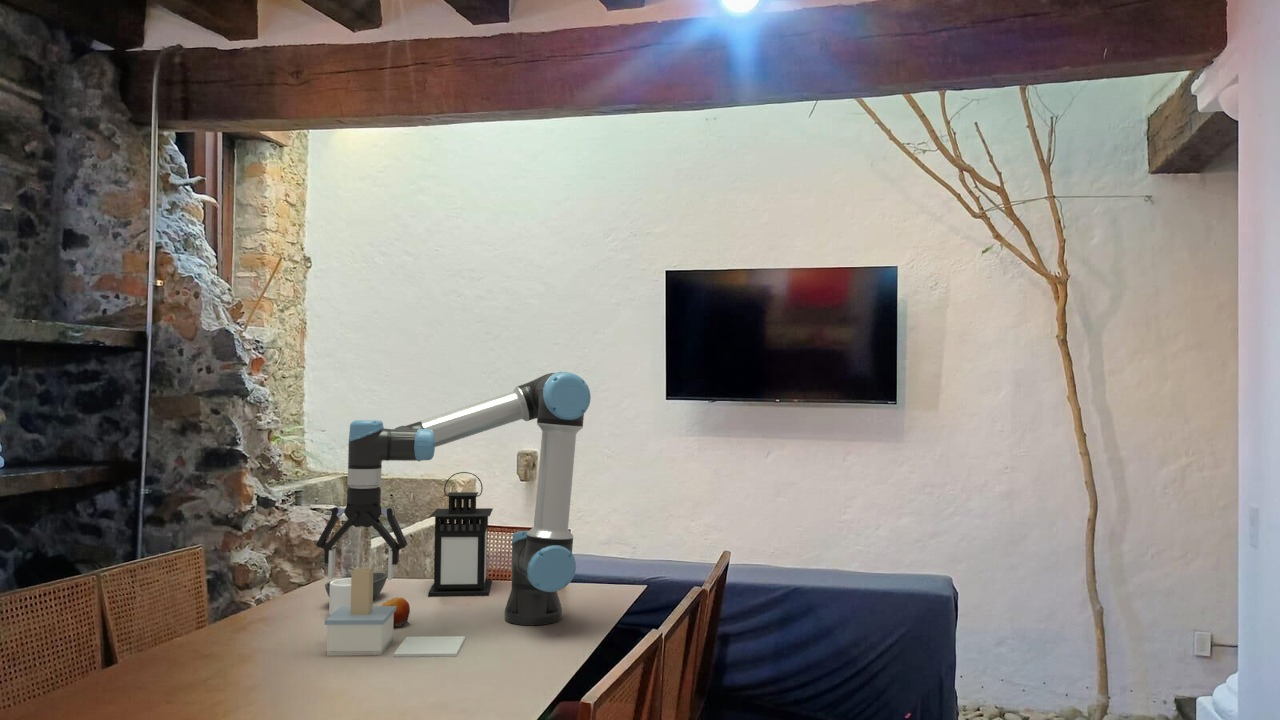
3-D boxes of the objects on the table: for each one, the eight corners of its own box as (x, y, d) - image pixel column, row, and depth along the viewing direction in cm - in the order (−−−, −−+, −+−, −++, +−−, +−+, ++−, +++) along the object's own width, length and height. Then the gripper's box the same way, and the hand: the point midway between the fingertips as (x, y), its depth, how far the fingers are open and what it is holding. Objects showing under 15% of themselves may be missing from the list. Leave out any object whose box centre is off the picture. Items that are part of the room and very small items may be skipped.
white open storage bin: (393, 640, 210) (393, 610, 210) (380, 655, 198) (381, 623, 198) (342, 640, 209) (342, 610, 209) (326, 655, 197) (327, 624, 197)
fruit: (407, 624, 219) (393, 596, 220) (382, 639, 220) (367, 611, 221) (422, 616, 226) (407, 589, 228) (397, 631, 228) (383, 603, 229)
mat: (465, 638, 212) (465, 636, 212) (456, 656, 198) (456, 653, 198) (406, 639, 211) (406, 636, 211) (393, 656, 197) (393, 653, 197)
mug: (381, 617, 232) (381, 582, 232) (344, 624, 224) (345, 588, 224) (357, 609, 240) (358, 575, 240) (322, 615, 232) (322, 581, 233)
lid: (396, 610, 211) (397, 564, 211) (383, 624, 198) (384, 575, 198) (341, 610, 210) (342, 564, 210) (324, 624, 197) (325, 575, 197)
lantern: (428, 596, 255) (430, 475, 256) (435, 584, 272) (437, 470, 273) (488, 596, 256) (490, 475, 258) (491, 583, 274) (493, 470, 275)
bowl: (398, 595, 256) (398, 574, 256) (348, 613, 235) (348, 589, 236) (363, 592, 260) (364, 571, 260) (311, 609, 240) (312, 586, 240)
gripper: (421, 485, 209) (418, 575, 208) (314, 483, 208) (311, 574, 207) (415, 488, 202) (412, 582, 201) (304, 487, 201) (301, 581, 200)
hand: (361, 578), depth 204 cm, fingers open, 13 cm apart
